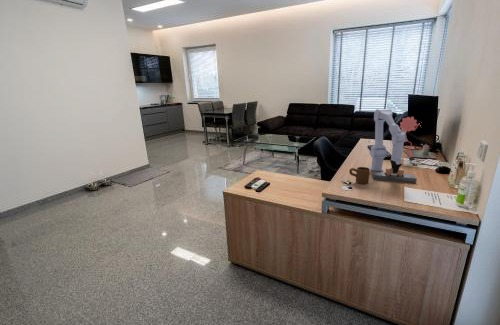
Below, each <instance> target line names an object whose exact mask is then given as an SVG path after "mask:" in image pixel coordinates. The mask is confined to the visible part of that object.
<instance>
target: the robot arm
mask: <svg viewBox="0 0 500 325" xmlns="http://www.w3.org/2000/svg"><path fill="white" fill-rule="evenodd" d="M373 121H374V123H375V124H374V125H375V126H374V128H375V129H374V144H373V145H372V146H371V147H370V152H369V156H370V157H371V165H370V166H369V167H370V168H369V169H370V171H374V172H384V169H383V165H384V159H385V158H386V157H387V155H388V151H387V147H386V146H385V145H384V124H385V122H386V124H387V125H388V131H389V132H390V135H391V141H392V142H391V144H392V149H391V158H390V160H389V161H390V166H391V167H390V168H393V173H397V172H398V170H399V169H401V166H402V165H403V163H401V162H402V161H404V158H403V157H402V156H403V151H404V143H406V142H405V141H406V139H407V140H408V138H407V133H406V134H405V132H404V131H401V130H402V129H401V128H400V125H398V124H396V122H395V120H394V118H393V110H392V109H391V108H381V109H379V108H377V109H375V111H374V114H373Z"/></svg>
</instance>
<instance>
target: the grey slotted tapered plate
mask: <svg viewBox="0 0 500 325" xmlns="http://www.w3.org/2000/svg"><path fill="white" fill-rule="evenodd" d="M372 178H373V180H375V181H376V180H377V181H387V182H388V181H389V182H390V181H391V182H399V183H400V182H401V183H411V184H416V183H417V181H418V180H417V179H418V178H417V177H416V176H415V174H412V173H411V174H410V173H404V175H402V177H398V174H390V176H386V171H385V172H384V171H372Z"/></svg>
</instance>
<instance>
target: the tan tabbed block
mask: <svg viewBox="0 0 500 325" xmlns="http://www.w3.org/2000/svg"><path fill="white" fill-rule="evenodd" d="M404 169H405V168H399V170H398V172H397V173H393V168H392V167H385V172H386V176H390V174H398V177H402V175H404V174H405V170H404Z"/></svg>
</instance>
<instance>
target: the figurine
mask: <svg viewBox="0 0 500 325" xmlns="http://www.w3.org/2000/svg"><path fill="white" fill-rule="evenodd" d="M401 120H402V121H400V122H399V124H400V125H399V128H400V130H401V131H402V132H404V133H405V134H406V135H407V132H411V131H416V129H418V127H419V126H420V127H421V125H420V123H417V122H418V120H417V119H415V116H411V117H410V116H407V117H403V118H402V119H401ZM407 142H408V143H410V149H409V150H408V151H407V156H408V155H409V156H408V157H410V156H412V157H413V155H414V154H413V152H412V150H411V149H412V142H411V141H409V140H408V138H407V139H406V141H405V142H404V143H407Z"/></svg>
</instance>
